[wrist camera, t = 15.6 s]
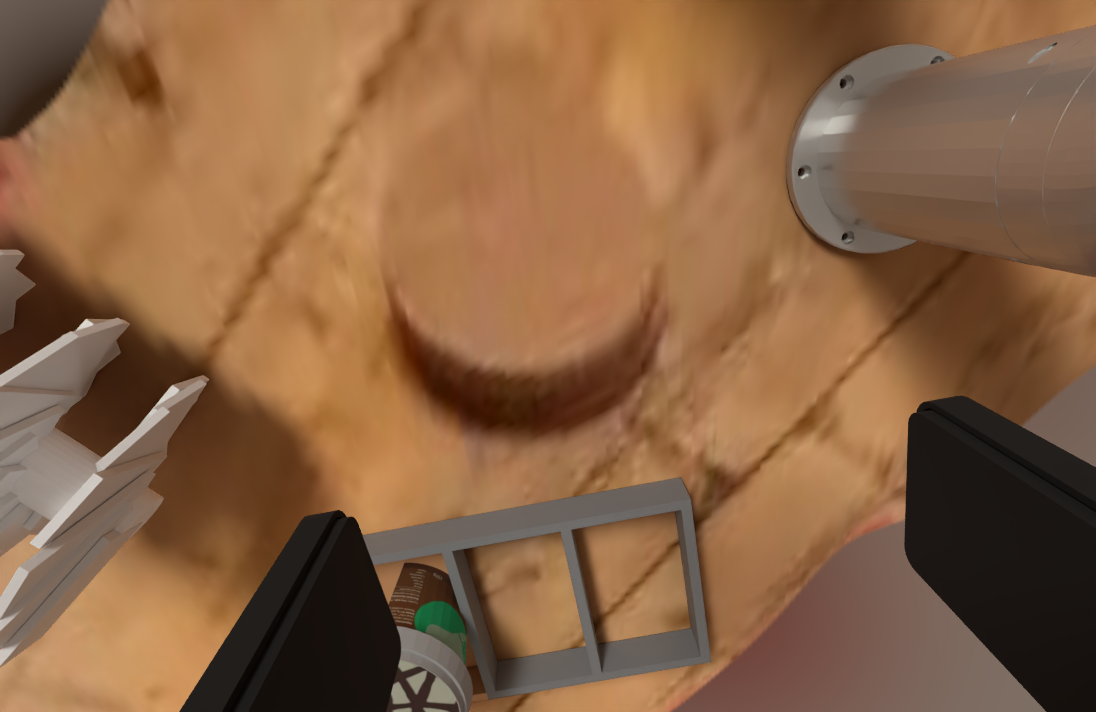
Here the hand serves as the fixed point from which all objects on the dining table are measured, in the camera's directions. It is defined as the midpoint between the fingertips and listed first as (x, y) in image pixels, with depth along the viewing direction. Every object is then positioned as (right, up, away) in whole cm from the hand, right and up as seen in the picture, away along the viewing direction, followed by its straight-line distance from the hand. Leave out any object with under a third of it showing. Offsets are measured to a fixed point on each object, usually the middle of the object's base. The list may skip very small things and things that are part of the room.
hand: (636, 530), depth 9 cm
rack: (-3, -17, +38) cm, 42 cm away
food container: (-10, -18, +38) cm, 44 cm away
